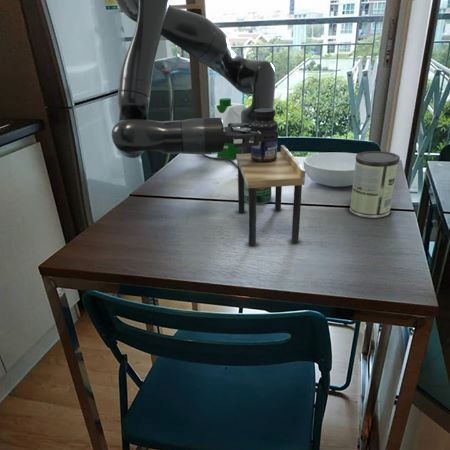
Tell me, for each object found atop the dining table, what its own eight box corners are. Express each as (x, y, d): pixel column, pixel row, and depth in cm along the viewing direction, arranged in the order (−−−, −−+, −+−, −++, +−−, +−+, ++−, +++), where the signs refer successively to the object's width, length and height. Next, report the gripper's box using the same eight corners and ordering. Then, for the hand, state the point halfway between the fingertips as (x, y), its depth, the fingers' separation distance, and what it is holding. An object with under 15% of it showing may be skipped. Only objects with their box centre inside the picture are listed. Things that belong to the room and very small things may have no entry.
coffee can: (353, 201, 121) (360, 149, 113) (392, 206, 117) (402, 152, 110) (345, 215, 113) (352, 159, 106) (386, 220, 109) (397, 163, 102)
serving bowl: (376, 176, 139) (379, 154, 136) (365, 197, 124) (368, 173, 120) (311, 170, 147) (313, 149, 143) (293, 189, 131) (295, 166, 127)
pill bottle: (276, 156, 107) (278, 107, 101) (276, 163, 101) (278, 112, 96) (251, 156, 107) (251, 107, 101) (250, 163, 102) (250, 112, 96)
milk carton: (213, 157, 165) (211, 99, 154) (229, 152, 170) (228, 95, 160) (231, 160, 160) (230, 101, 149) (247, 155, 165) (247, 97, 155)
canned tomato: (256, 192, 130) (256, 154, 124) (277, 198, 125) (278, 159, 119) (237, 200, 125) (237, 160, 119) (258, 206, 120) (258, 166, 114)
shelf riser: (237, 211, 118) (236, 147, 109) (281, 208, 118) (283, 145, 109) (247, 246, 99) (247, 173, 90) (300, 243, 100) (305, 170, 91)
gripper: (202, 124, 92) (282, 121, 93) (200, 112, 104) (270, 110, 105) (204, 161, 96) (280, 157, 97) (201, 145, 108) (269, 142, 109)
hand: (274, 132), depth 101 cm, fingers closed on pill bottle, 6 cm apart
